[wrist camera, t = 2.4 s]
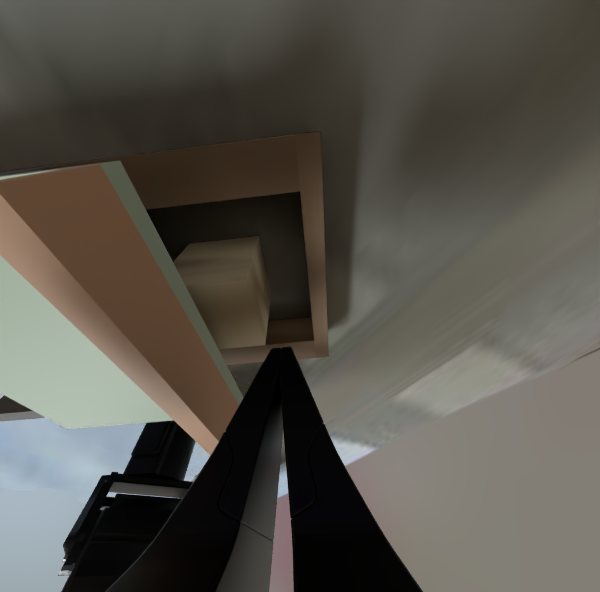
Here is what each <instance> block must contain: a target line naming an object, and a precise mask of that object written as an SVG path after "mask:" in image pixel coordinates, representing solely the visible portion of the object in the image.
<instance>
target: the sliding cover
mask: <svg viewBox="0 0 600 592" xmlns="http://www.w3.org/2000/svg"><path fill="white" fill-rule="evenodd" d="M0 393H1V394H3V395H5V396H7V397H9V398H10V399H12V400H14V401H16V402H18V403H20V404H22V405H23V406H25V407H27V408H29V409H31V410H33V411H34V412H36V413H38V414H40V415H42V416H44V417H46V418H47V419H49V420H51V421H53V422H55V423H57V424H59V425H60V426H62V427H64V428H66V429H74V428H86V427H98V426H111V425H123V424H135V423H148V422H160V421H172V420H174V421H175V422H176V423H177V424H178V425H179V426H180V427H181V428H182V429H183V430H185V431H186V432H187V433H188V434H189V435H190V436H191V437H192V438H193V439H194V440H195V441H196V442H197V443H198V444H199V445H200V446H201V447H202V448H203V449H205V450H206V451H207V452H208V453H209V454H210V455H211V454H212V452H213V451H214V449H215V447H216V446H217V444H218V442H219V440H220V439H221V437H222V435H223V433H224V432H226V428H227V426H228V424H229V423H230V421H231V419H232V417H233V416H234V414H235V412H236V410H237V408H238V407H239V405H240V403H241V401H242V400H243V398H244V397H243V395H242V393H241V391H240V390H239V388H238V386H237V384H236V382H235V380H234V378H233V376H232V374H231V372H230V370H229V368H228V367H227V365H226V363H225V361H224V359H223V357H222V355H221V353H220V351H219V349H218V347H217V345H216V344H215V342H214V340H213V338H212V336H211V334H210V332H209V330H208V328H207V326H206V324H205V322H204V321H203V319H202V317H201V315H200V313H199V311H198V309H197V307H196V305H195V303H194V301H193V299H192V298H191V296H190V294H189V292H188V290H187V288H186V286H185V284H184V282H183V280H182V278H181V276H180V275H179V273H178V271H177V269H176V267H175V265H174V263H173V261H172V259H171V257H170V255H169V253H168V252H167V250H166V248H165V246H164V244H163V242H162V240H161V238H160V236H159V234H158V232H157V230H156V228H155V227H154V225H153V223H152V221H151V219H150V217H149V215H148V213H147V211H146V209H145V207H144V205H143V204H142V202H141V200H140V198H139V196H138V194H137V192H136V190H135V188H134V186H133V184H132V182H131V181H130V179H129V177H128V175H127V173H126V171H125V169H124V167H123V165H122V163H121V161H113V162H105V163H97V164H89V165H81V166H73V167H65V168H58V169H50V170H42V171H34V172H26V173H18V174H10V175H3V176H0Z"/></svg>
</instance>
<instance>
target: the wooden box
mask: <svg viewBox="0 0 600 592" xmlns="http://www.w3.org/2000/svg"><path fill="white" fill-rule="evenodd" d="M113 161H121V163H122V165H123V167H124V169H125V171H126V173H127V175H128V177H129V179H130V181H131V182H132V184H133V186H134V188H135V190H136V192H137V194H138V196H139V198H140V200H141V202H142V204H143V205H144V207H145V209H146V210H147V209H156V208H164V207H172V206H181V205H189V204H198V203H206V202H215V201H223V200H232V199H240V198H249V197H257V196H266V195H274V194H282V193H291V192H299V191H300V199H301V210H302V220H303V231H304V242H305V252H306V263H307V273H308V284H309V295H310V305H311V316H312V317H305V318H294V319H284V320H274V321H268V326H267V334H266V343H265V345H261V346H251V347H240V348H229V349H219V351H220V353H221V355H222V357H223V359H224V361H225V363H226V365H237V364H248V363H259V362H264V360H265V359H266V357H267V355H268V353H269V351H270V350H271V349H272V348H278V347H280V348H281V349H282V347H289V346H290V347H292V349H293V352H294V354H295V356H296V359H304V358H315V357H326V356H329V355H328V325H327V296H326V266H325V237H324V207H323V177H322V148H321V132H308V133H300V134H292V135H284V136H276V137H269V138H261V139H253V140H245V141H237V142H230V143H222V144H214V145H206V146H198V147H190V148H183V149H175V150H167V151H159V152H151V153H144V154H136V155H128V156H120V157H112V158H105V159H97V160H89V161H81V162H73V163H65V164H58V165H50V166H42V167H34V168H26V169H19V170H11V171H3V172H0V176H3V175H10V174H18V173H26V172H34V171H42V170H50V169H58V168H65V167H73V166H81V165H89V164H97V163H105V162H113ZM35 418H46V417H44V416H42V415H40V414H38V413H36V412H34V411H33V410H31V409H29V408H27V407H25V406H23V405H22V404H20V403H18V402H16V401H14V400H12V399H10V398H9V397H7V396H5V395H4V396H3V397H2V398H1V399H0V421H11V420H23V419H35Z"/></svg>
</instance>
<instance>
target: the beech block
mask: <svg viewBox="0 0 600 592" xmlns="http://www.w3.org/2000/svg"><path fill="white" fill-rule="evenodd" d="M173 263H174V265H175V267H176V269H177V271H178V273H179V275H180V276H181V278H182V280H183V282H184V284H185V286H186V288H187V290H188V292H189V294H190V296H191V298H192V299H193V301H194V303H195V305H196V307H197V309H198V311H199V313H200V315H201V317H202V319H203V321H204V322H205V324H206V326H207V328H208V330H209V332H210V334H211V336H212V338H213V340H214V342H215V344H216V345H217V347H218V349H229V348H240V347H251V346H261V345H265V343H266V334H267V326H268V317H269V309H270V301H271V288H270V284H269V280H268V275H267V271H266V267H265V262H264V258H263V253H262V249H261V245H260V240H259V236H256V237H247V238H238V239H229V240H220V241H211V242H202V243H193V244H189V245H188V246H187V247H186V248H185V249H184V250H183V251H182V253H181V254H180V255H179V256H178V257H177V258H176V259H175V261H174V262H173Z"/></svg>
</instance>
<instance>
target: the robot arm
mask: <svg viewBox="0 0 600 592" xmlns="http://www.w3.org/2000/svg"><path fill="white" fill-rule="evenodd" d="M283 431H284V443H285V455H286V467H287V479H288V492H289V504H290V515H291V518H292V519H291V528H292V545H293V576H294V592H423V591H422V590H421V588H420V587H419V585H418V584H417V582H416V581H415V580H414V578H413V577H412V576H411V574H410V572H409V571H408V569H407V568H406V567H405V565H404V564H403V563H402V561H401V559H400V558H399V557H398V555H397V554H396V552H395V551H394V549H393V548H392V546H391V545H390V543H389V542H388V540H387V539H386V537H385V536H384V534H383V532H382V531H381V529H380V527H379V526H378V524H377V522H376V521H375V519H374V517H373V515H372V514H371V512H370V510H369V509H368V507H367V505H366V503H365V501H364V500H363V498H362V496H361V495H360V493H359V491H358V489H357V487H356V486H355V484H354V482H353V480H352V479H351V477H350V475H349V473H348V472H347V470H346V468H345V466H344V464H343V462H342V460H341V459H340V457H339V455H338V453H337V451H336V449H335V447H334V445H333V442H332V440H331V438H330V436H329V434H328V431H327V429H326V426H325V424H324V422H323V420H322V417H321V415H320V413H319V410H318V408H317V406H316V403H315V401H314V399H313V396H312V394H311V392H310V389H309V387H308V384H307V382H306V380H305V377H304V375H303V373H302V370H301V368H300V366H299V363H298V361H297V359H296V356H295V354H294V352H293V349H292V347H290V346H289V347H282V349H281V348H280V347H278V348H272V349H271V350H270V351H269V353H268V355H267V357H266V359H265V360H264V362H263V364H262V366H261V367H260V369H259V371H258V373H257V375H256V376H255V378H254V380H253V382H252V383H251V385H250V387H249V389H248V391H247V392H246V394H245V396H244V398H243V400H242V401H241V403H240V405H239V407H238V408H237V410H236V412H235V414H234V416H233V417H232V419H231V421H230V423H229V424H228V426H227V428H226V432H224V433H223V435H222V437H221V439H220V440H219V442H218V444H217V446H216V447H215V449H214V451H213V452H212V454H211V456H210V457H209V459H208V461H207V462H206V464H205V465H204V467H203V468H202V470H201V471H200V473H199V474H198V476H197V478H196V479H195V481H194V482H189V481H184V477H185V474H186V471H187V468H188V464H189V461H190V458H191V454H192V451H193V448H194V445H195V440H194V439H193V438H192V437H191V436H190V435H189V434H188V433H187V432H186V431H185V430H183V429H182V428H181V427H180V426H179V425H178V424H177V423H176V422H175V421H174V420H172V421H160V422H148V423H146V425H145V427H144V429H143V431H142V433H141V435H140V437H139V439H138V441H137V443H136V445H135V447H134V449H133V451H132V454H131V455H132V457H131V459H130V461H129V463H128V465H127V467H126V469H125V471H124V473H123V474H118V472H112V473H111V475H104V476H102V477H101V478H100V480H99V482H98V484H97V486H96V488H95V489H94V491H93V493H92V495H91V497H90V498H89V500H88V502H87V504H86V505H85V507H84V509H83V511H82V513H81V514H80V516H79V518H78V520H77V521H76V523H75V525H74V526H73V528H72V530H71V532H70V533H69V535H68V537H67V539H66V541H65V542H64V544H63V548H64V551H65V557H64V559H63V562H65V563H64V565H63V567H62V569H61V571H60V573H59V575H58V576H64V575H69V577H68V579H67V581H66V583H65V585H64V587H63V590H62V591H61V592H269V585H270V574H271V563H272V551H273V539H274V527H275V516H276V505H277V494H278V482H279V471H280V460H281V448H282V437H283ZM108 492H116V493H128V494H140V495H128V494H116V496H115V497H106V496H107V494H108ZM141 495H152V496H141ZM153 496H164V497H153ZM165 497H176V498H165ZM177 498H180V499H177Z"/></svg>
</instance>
